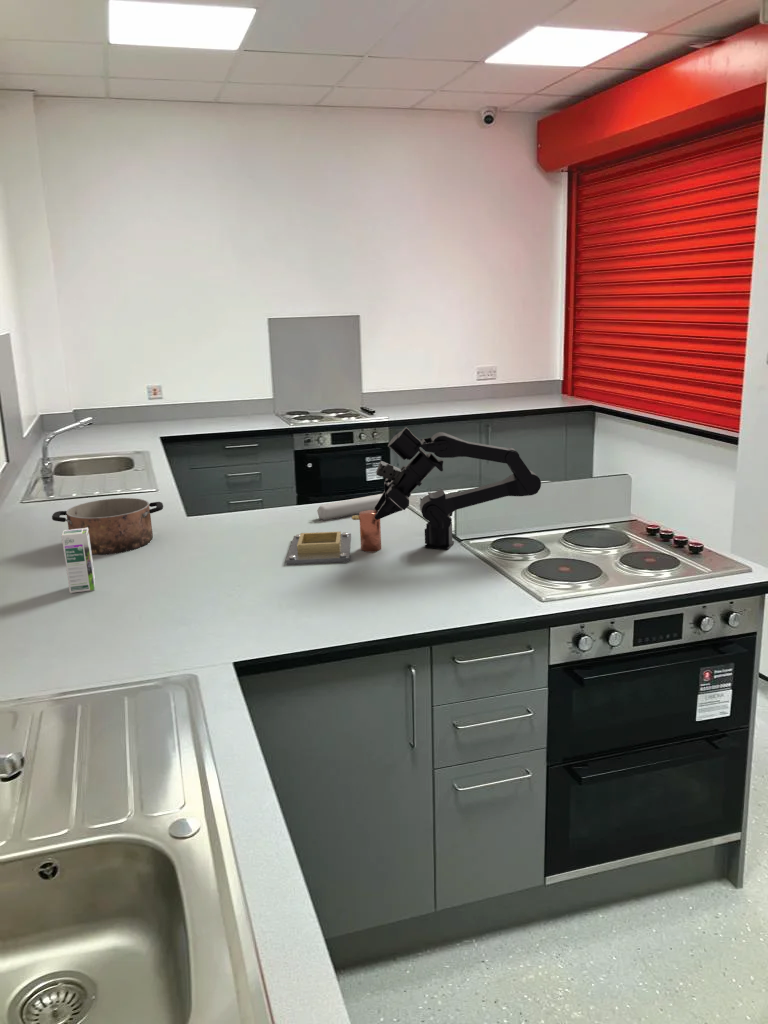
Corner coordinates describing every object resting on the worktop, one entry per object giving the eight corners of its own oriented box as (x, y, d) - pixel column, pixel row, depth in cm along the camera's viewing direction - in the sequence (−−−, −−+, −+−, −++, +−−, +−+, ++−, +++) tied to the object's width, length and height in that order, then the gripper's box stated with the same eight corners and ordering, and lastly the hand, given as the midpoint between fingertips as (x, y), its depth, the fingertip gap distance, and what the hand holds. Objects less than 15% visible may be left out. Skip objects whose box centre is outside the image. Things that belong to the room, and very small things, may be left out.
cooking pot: (52, 561, 221) (46, 523, 218) (61, 539, 241) (56, 503, 239) (167, 548, 228) (163, 511, 225) (166, 528, 249) (162, 493, 246)
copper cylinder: (381, 545, 223) (379, 509, 220) (381, 551, 218) (380, 515, 215) (353, 546, 223) (351, 510, 220) (353, 552, 217) (351, 516, 215)
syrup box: (69, 594, 195) (60, 535, 191) (71, 585, 200) (63, 528, 196) (94, 590, 196) (86, 532, 192) (96, 583, 201) (88, 526, 198)
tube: (322, 510, 247) (394, 497, 258) (315, 501, 251) (386, 489, 262) (321, 525, 249) (392, 511, 261) (314, 516, 253) (384, 503, 265)
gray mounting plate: (351, 537, 231) (350, 525, 230) (349, 562, 210) (348, 549, 209) (294, 539, 231) (293, 527, 230) (286, 564, 210) (285, 551, 209)
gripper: (392, 444, 222) (353, 486, 225) (394, 458, 204) (352, 502, 207) (422, 472, 225) (383, 512, 227) (426, 487, 206) (384, 531, 209)
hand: (375, 514), depth 218 cm, fingers open, 9 cm apart
